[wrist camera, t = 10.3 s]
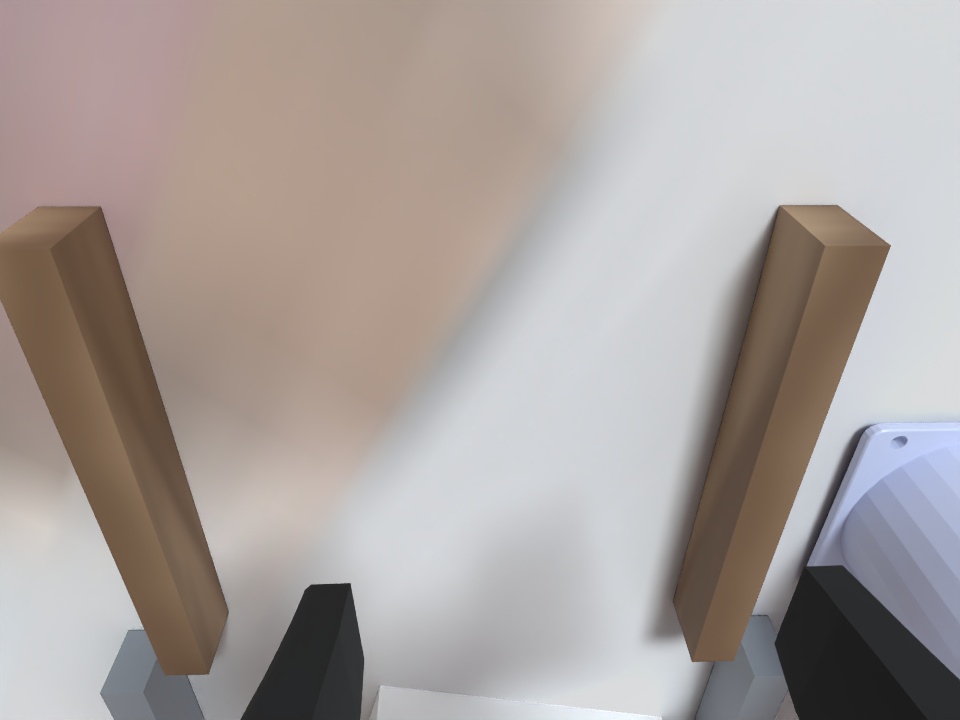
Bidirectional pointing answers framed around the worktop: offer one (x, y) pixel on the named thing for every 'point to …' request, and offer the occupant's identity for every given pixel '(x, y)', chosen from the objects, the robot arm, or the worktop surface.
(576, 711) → the bracket
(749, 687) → the gray u-shaped frame
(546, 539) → the worktop surface
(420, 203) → the worktop surface
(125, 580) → the brown rectangular beams
